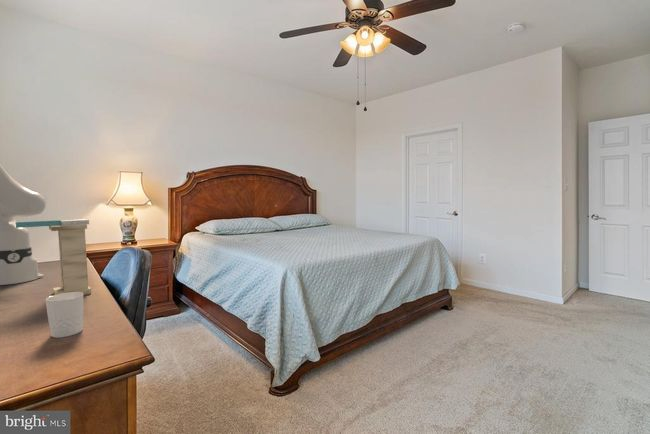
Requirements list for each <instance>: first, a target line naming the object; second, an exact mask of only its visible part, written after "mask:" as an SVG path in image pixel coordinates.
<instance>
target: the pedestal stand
mask: <svg viewBox="0 0 650 434" xmlns="http://www.w3.org/2000/svg"><path fill="white" fill-rule="evenodd" d="M48 229H49V230H50V231H51V232H56V231H57V233H58V234H57V236H58V246H59V247H58V249H59V250H58V251H59V261H60V262H59V263H60V265H59V266H60V277H61V286H56V287H52V293H53V295H57V294H61V293H67V292H82V293H83V296H86V295H90V294H92V288H91V287H90V286H89V276H88V275H89V273H88V259H87V243H86V242H87V241H86V230H87V229H88V224H84V225H67V226H61V225H58V226H48Z"/></svg>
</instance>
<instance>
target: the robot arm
mask: <svg viewBox="0 0 650 434" xmlns="http://www.w3.org/2000/svg"><path fill="white" fill-rule="evenodd" d="M46 205H47V203H46V199H45V197H44V196H43V195H42V194H41V193H39V192H36V191H33V190H30V188H27V187H25V186H24V185H22V184H21V183H19V182H18V181H17V180H16V179H14V178H13V177H12V176H11V175H10V174H9V173H8V172H7V170H6V169H5V167H3V165H2V163H0V286H4V285H5V286H6V285H14V284H15V285H16V284H21V283H26V282H31V281H34V280H37V279H41V278H45V276H44V275H45V274H43V273H40V272H39V268H38V267H39V266H38V260H37V259H36V258H35V257H33V256H32V255H33V249H32V247H31V242H30V241H31V240H30V231H29V230H28V227H23V228H16V222H18V221H17V220H16V218H18V217H20V218H22V217H25V218H26V217H32V216H37V215H40V214H42V213H43V212H44V210H45V209H46Z"/></svg>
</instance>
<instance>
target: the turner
mask: <svg viewBox="0 0 650 434" xmlns="http://www.w3.org/2000/svg"><path fill="white" fill-rule="evenodd" d="M84 224H86V225H90V220H89V219H87V218H81V219H79V218H78V219H57V220H56V219H54V220H37V221H35V220H34V221H17V222H16V228H23V227H25V228H35V227H36V228H38V227H40V228H41V227H49V226H58V225H61V226H67V225H84Z"/></svg>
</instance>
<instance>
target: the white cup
mask: <svg viewBox="0 0 650 434" xmlns="http://www.w3.org/2000/svg"><path fill="white" fill-rule="evenodd" d="M45 306H46V315H47V320H48V326H49V330H50V335H51V338H56V339H57V338H58V339H59V338H66V337H71V336H74V335H77V334H79V333H81V332H82V331H83V330H84V295H83V293H82V292H67V293H61V294H57V295H54V294H53V295H50V296H48V297H46V298H45Z"/></svg>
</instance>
